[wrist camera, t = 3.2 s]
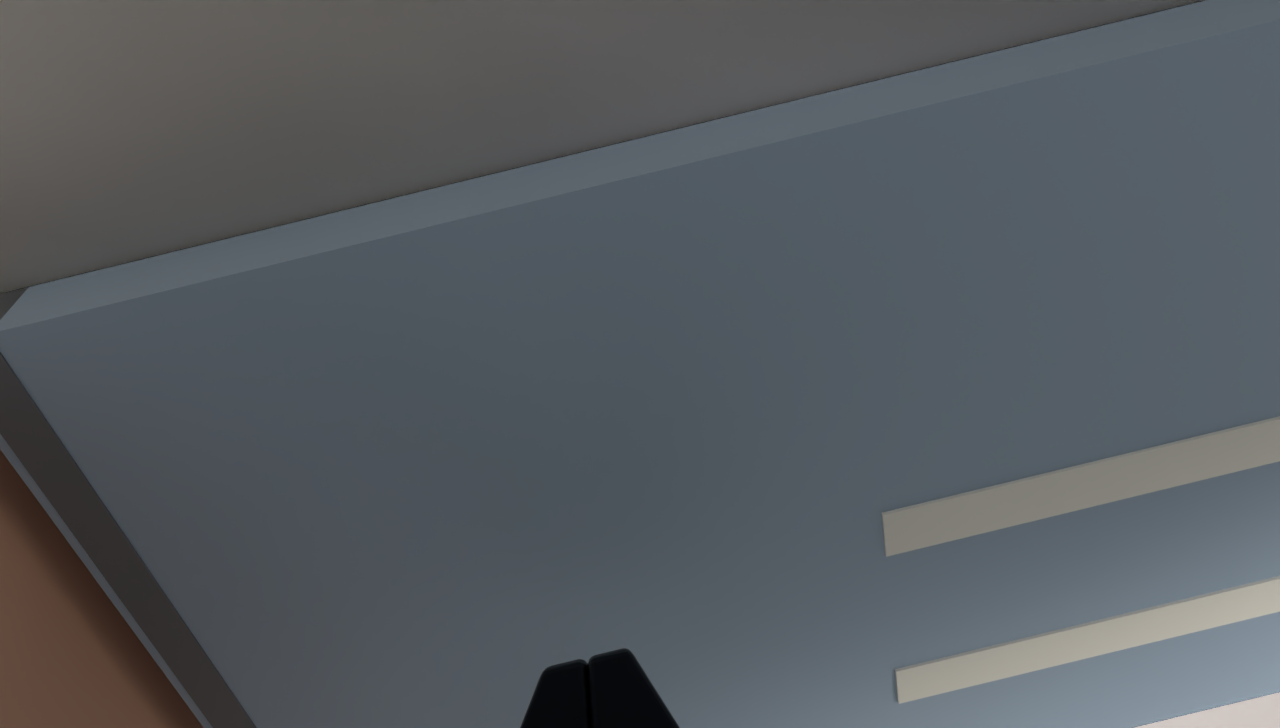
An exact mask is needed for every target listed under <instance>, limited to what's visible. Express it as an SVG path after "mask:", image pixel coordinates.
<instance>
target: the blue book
mask: <svg viewBox="0 0 1280 728" xmlns="http://www.w3.org/2000/svg"><path fill="white" fill-rule="evenodd" d="M0 450H1V451H2V452H3V454H4V455H5V456H6V458H7V459H8V461H9V462H10V463H11V465H12V466H13V467H14V469H15V470H16V472H17V473H18V474H19V476H20V477H21V478H22V480H23V481H24V482H25V484H26V485H27V487H28V488H29V489H30V491H31V492H32V493H33V495H34V496H35V498H36V499H37V500H38V502H39V503H40V504H41V506H42V507H43V508H44V510H45V511H46V513H47V514H48V515H49V517H50V518H51V519H52V521H53V522H54V523H55V525H56V526H57V528H58V529H59V530H60V532H61V533H62V534H63V536H64V537H65V539H66V540H67V541H68V543H69V544H70V545H71V547H72V548H73V549H74V551H75V552H76V554H77V555H78V556H79V558H80V559H81V560H82V562H83V563H84V565H85V566H86V567H87V569H88V570H89V571H90V573H91V574H92V575H93V577H94V578H95V580H96V581H97V582H98V584H99V585H100V586H101V588H102V589H103V591H104V592H105V593H106V595H107V596H108V597H109V599H110V600H111V601H112V603H113V604H114V606H115V607H116V608H117V610H118V611H119V612H120V614H121V615H122V617H123V618H124V619H125V621H126V622H127V623H128V625H129V626H130V627H131V629H132V630H133V632H134V633H135V634H136V636H137V637H138V638H139V640H140V641H141V643H142V644H143V645H144V647H145V648H146V649H147V651H148V652H149V653H150V655H151V656H152V658H153V659H154V660H155V662H156V663H157V664H158V666H159V667H160V669H161V670H162V671H163V673H164V674H165V675H166V677H167V678H168V679H169V681H170V682H171V684H172V685H173V686H174V688H175V689H176V690H177V692H178V693H179V695H180V696H181V697H182V699H183V700H184V701H185V703H186V704H187V705H188V707H189V708H190V710H191V711H192V712H193V714H194V715H195V716H196V718H197V719H198V721H199V722H200V723H201V725H202V726H203V727H204V728H520V727H521V724H522V722H523V719H524V716H525V714H526V711H527V709H528V706H529V704H530V701H531V698H532V696H533V693H534V691H535V688H536V686H537V683H538V680H539V678H540V676H541V674H542V672H543V671H544V670H545V669H546V668H547V667H549V666H552V665H556V664H560V663H564V662H568V661H572V660H576V659H583V660H585V661H586V662H587V663H588V661H589V659H590V658H591V657H592V656H594V655H597V654H601V653H605V652H609V651H614V650H618V649H622V648H626V649H629V650H630V651H631V652H632V653H633V654H634V656H635V658H636V659H637V661H638V662H639V664H640V665H641V667H642V669H643V670H644V672H645V673H646V675H647V677H648V678H649V680H650V681H651V683H652V685H653V686H654V688H655V689H656V691H657V692H658V694H659V696H660V697H661V699H662V700H663V702H664V704H665V705H666V707H667V708H668V710H669V711H670V713H671V715H672V716H673V718H674V719H675V721H676V723H677V724H678V726H679V727H680V728H1134V727H1138V726H1142V725H1146V724H1150V723H1154V722H1158V721H1162V720H1167V719H1171V718H1175V717H1179V716H1183V715H1187V714H1191V713H1195V712H1200V711H1204V710H1208V709H1212V708H1216V707H1220V706H1224V705H1228V704H1233V703H1237V702H1241V701H1245V700H1249V699H1253V698H1257V697H1261V696H1266V695H1270V694H1274V693H1278V692H1280V0H1205V1H1201V2H1197V3H1193V4H1189V5H1185V6H1181V7H1177V8H1172V9H1168V10H1164V11H1160V12H1156V13H1152V14H1148V15H1144V16H1140V17H1135V18H1131V19H1127V20H1123V21H1119V22H1115V23H1111V24H1107V25H1103V26H1099V27H1094V28H1090V29H1086V30H1082V31H1078V32H1074V33H1070V34H1066V35H1062V36H1057V37H1053V38H1049V39H1045V40H1041V41H1037V42H1033V43H1029V44H1025V45H1021V46H1016V47H1012V48H1008V49H1004V50H1000V51H996V52H992V53H988V54H984V55H979V56H975V57H971V58H967V59H963V60H959V61H955V62H951V63H947V64H943V65H938V66H934V67H930V68H926V69H922V70H918V71H914V72H910V73H906V74H901V75H897V76H893V77H889V78H885V79H881V80H877V81H873V82H869V83H865V84H860V85H856V86H852V87H848V88H844V89H840V90H836V91H832V92H828V93H823V94H819V95H815V96H811V97H807V98H803V99H799V100H795V101H791V102H787V103H782V104H778V105H774V106H770V107H766V108H762V109H758V110H754V111H750V112H745V113H741V114H737V115H733V116H729V117H725V118H721V119H717V120H713V121H709V122H704V123H700V124H696V125H692V126H688V127H684V128H680V129H676V130H672V131H667V132H663V133H659V134H655V135H651V136H647V137H643V138H639V139H635V140H631V141H626V142H622V143H618V144H614V145H610V146H606V147H602V148H598V149H594V150H589V151H585V152H581V153H577V154H573V155H569V156H565V157H561V158H557V159H553V160H548V161H544V162H540V163H536V164H532V165H528V166H524V167H520V168H516V169H512V170H507V171H503V172H499V173H495V174H491V175H487V176H483V177H479V178H475V179H470V180H466V181H462V182H458V183H454V184H450V185H446V186H442V187H438V188H434V189H429V190H425V191H421V192H417V193H413V194H409V195H405V196H401V197H397V198H392V199H388V200H384V201H380V202H376V203H372V204H368V205H364V206H360V207H356V208H351V209H347V210H343V211H339V212H335V213H331V214H327V215H323V216H319V217H314V218H310V219H306V220H302V221H298V222H294V223H290V224H286V225H282V226H278V227H273V228H269V229H265V230H261V231H257V232H253V233H249V234H245V235H241V236H236V237H232V238H228V239H224V240H220V241H216V242H212V243H208V244H204V245H200V246H195V247H191V248H187V249H183V250H179V251H175V252H171V253H167V254H163V255H158V256H154V257H150V258H146V259H142V260H138V261H134V262H130V263H126V264H122V265H117V266H113V267H109V268H105V269H101V270H97V271H93V272H89V273H85V274H80V275H76V276H72V277H68V278H64V279H60V280H56V281H52V282H48V283H44V284H39V285H35V286H31V287H27V288H23V289H19V290H15V291H11V292H7V293H2V294H0Z"/></svg>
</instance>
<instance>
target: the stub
mask: <svg viewBox="0 0 1280 728" xmlns="http://www.w3.org/2000/svg"><path fill="white" fill-rule="evenodd" d="M0 728H204V727H203V726H202V725H201V723H200V722H199V721H198V719H197V718H196V716H195V715H194V714H193V712H192V711H191V710H190V708H189V707H188V705H187V704H186V703H185V701H184V700H183V699H182V697H181V696H180V695H179V693H178V692H177V690H176V689H175V688H174V686H173V685H172V684H171V682H170V681H169V679H168V678H167V677H166V675H165V674H164V673H163V671H162V670H161V669H160V667H159V666H158V664H157V663H156V662H155V660H154V659H153V658H152V656H151V655H150V653H149V652H148V651H147V649H146V648H145V647H144V645H143V644H142V643H141V641H140V640H139V638H138V637H137V636H136V634H135V633H134V632H133V630H132V629H131V627H130V626H129V625H128V623H127V622H126V621H125V619H124V618H123V617H122V615H121V614H120V612H119V611H118V610H117V608H116V607H115V606H114V604H113V603H112V601H111V600H110V599H109V597H108V596H107V595H106V593H105V592H104V591H103V589H102V588H101V586H100V585H99V584H98V582H97V581H96V580H95V578H94V577H93V575H92V574H91V573H90V571H89V570H88V569H87V567H86V566H85V565H84V563H83V562H82V560H81V559H80V558H79V556H78V555H77V554H76V552H75V551H74V549H73V548H72V547H71V545H70V544H69V543H68V541H67V540H66V539H65V537H64V536H63V534H62V533H61V532H60V530H59V529H58V528H57V526H56V525H55V523H54V522H53V521H52V519H51V518H50V517H49V515H48V514H47V513H46V511H45V510H44V508H43V507H42V506H41V504H40V503H39V502H38V500H37V499H36V498H35V496H34V495H33V493H32V492H31V491H30V489H29V488H28V487H27V485H26V484H25V482H24V481H23V480H22V478H21V477H20V476H19V474H18V473H17V472H16V470H15V469H14V467H13V466H12V465H11V463H10V462H9V461H8V459H7V458H6V456H5V455H4V454H3V452H2V451H1V450H0Z"/></svg>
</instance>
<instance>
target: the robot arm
mask: <svg viewBox="0 0 1280 728" xmlns="http://www.w3.org/2000/svg"><path fill="white" fill-rule="evenodd" d="M520 728H680V727H679V726H678V724H677V723H676V721H675V719H674V718H673V716H672V715H671V713H670V711H669V710H668V708H667V707H666V705H665V704H664V702H663V700H662V699H661V697H660V696H659V694H658V692H657V691H656V689H655V688H654V686H653V685H652V683H651V681H650V680H649V678H648V677H647V675H646V673H645V672H644V670H643V669H642V667H641V665H640V664H639V662H638V661H637V659H636V658H635V656H634V654H633V653H632V652H631V651H630V650H629V649H626V648H622V649H618V650H614V651H609V652H605V653H601V654H597V655H594V656H592V657H591V658H590V659H589V661H588V663H587V662H586V661H585V660H583V659H576V660H572V661H568V662H564V663H560V664H556V665H552V666H549V667H547V668H546V669H545V670H544V671H543V672H542V674H541V676H540V678H539V680H538V683H537V686H536V688H535V691H534V693H533V696H532V698H531V701H530V704H529V706H528V709H527V711H526V714H525V716H524V719H523V722H522V724H521V727H520Z"/></svg>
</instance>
